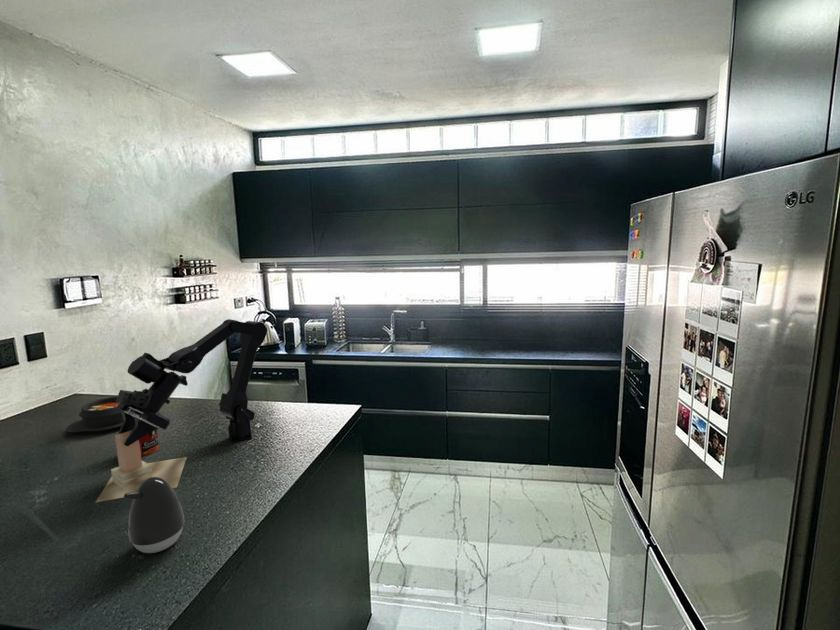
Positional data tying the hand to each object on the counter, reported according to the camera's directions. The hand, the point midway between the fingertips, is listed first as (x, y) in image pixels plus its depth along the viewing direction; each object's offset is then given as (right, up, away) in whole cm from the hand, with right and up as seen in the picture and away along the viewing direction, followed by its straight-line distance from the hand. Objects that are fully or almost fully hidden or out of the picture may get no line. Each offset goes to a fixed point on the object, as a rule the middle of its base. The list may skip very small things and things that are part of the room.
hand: (121, 443), depth 116 cm
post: (+1, -7, +2) cm, 8 cm away
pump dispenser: (+23, -15, -22) cm, 36 cm away
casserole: (-33, -6, +42) cm, 54 cm away
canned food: (-7, -9, +20) cm, 23 cm away
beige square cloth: (+4, -11, +4) cm, 12 cm away
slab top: (+1, -9, +3) cm, 9 cm away
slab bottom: (+1, -11, +3) cm, 11 cm away
